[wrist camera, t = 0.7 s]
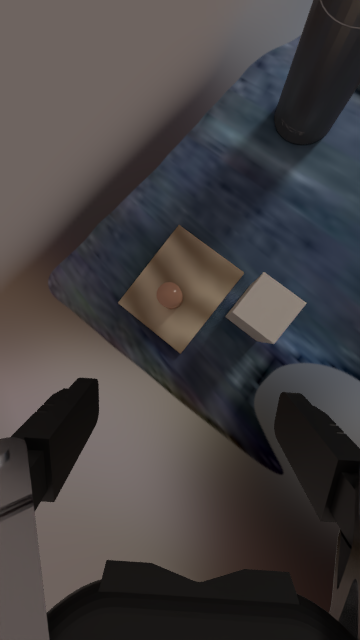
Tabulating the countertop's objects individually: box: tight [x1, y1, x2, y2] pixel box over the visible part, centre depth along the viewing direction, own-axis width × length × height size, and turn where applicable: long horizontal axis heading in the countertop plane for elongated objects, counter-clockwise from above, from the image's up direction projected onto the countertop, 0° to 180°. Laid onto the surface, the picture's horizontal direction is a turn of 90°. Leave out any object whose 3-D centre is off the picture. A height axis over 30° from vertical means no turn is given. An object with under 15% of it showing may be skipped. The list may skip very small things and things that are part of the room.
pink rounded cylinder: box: [157, 282, 183, 309], centre depth 35 cm, size 4×4×4 cm
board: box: [118, 225, 244, 354], centre depth 37 cm, size 16×13×1 cm
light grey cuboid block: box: [225, 272, 306, 344], centre depth 32 cm, size 6×6×8 cm
